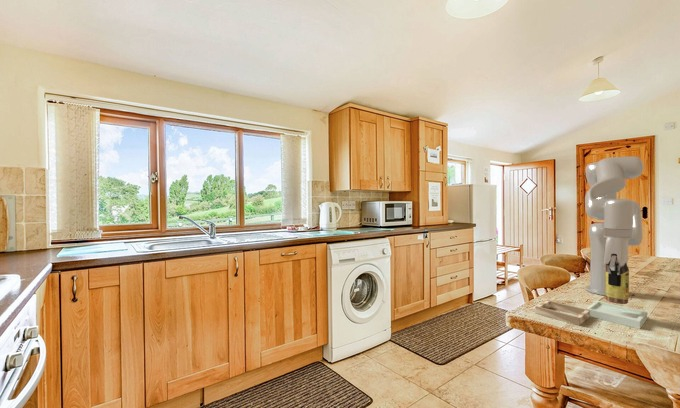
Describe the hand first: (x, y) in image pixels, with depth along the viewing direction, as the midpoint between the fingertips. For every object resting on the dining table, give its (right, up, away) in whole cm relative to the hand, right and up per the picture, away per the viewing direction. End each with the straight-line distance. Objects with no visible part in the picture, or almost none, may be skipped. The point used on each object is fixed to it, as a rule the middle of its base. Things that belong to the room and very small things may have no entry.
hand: (616, 283), depth 105 cm
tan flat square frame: (-18, -12, +2) cm, 22 cm away
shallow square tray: (0, -12, 0) cm, 12 cm away
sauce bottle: (0, -7, 0) cm, 7 cm away
